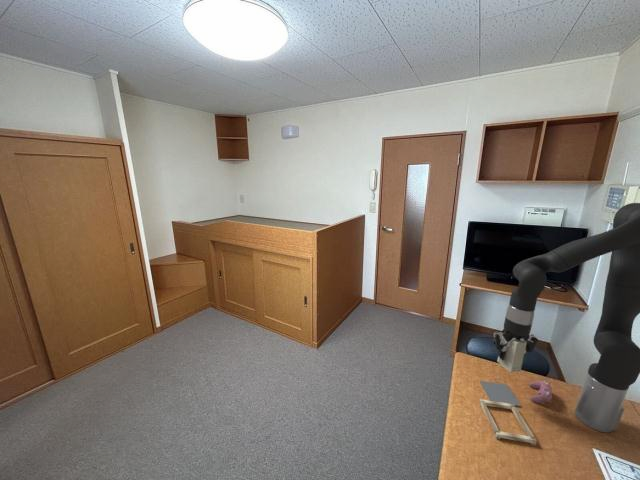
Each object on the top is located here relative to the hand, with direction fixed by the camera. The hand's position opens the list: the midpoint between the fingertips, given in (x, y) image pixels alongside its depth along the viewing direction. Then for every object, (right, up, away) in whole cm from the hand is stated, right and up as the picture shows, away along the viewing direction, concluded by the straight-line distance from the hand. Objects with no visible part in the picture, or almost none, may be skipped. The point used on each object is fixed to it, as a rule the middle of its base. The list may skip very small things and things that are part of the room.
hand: (509, 359), depth 94 cm
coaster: (0, -16, +6) cm, 17 cm away
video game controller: (+15, -17, +5) cm, 23 cm away
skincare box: (0, -3, +1) cm, 3 cm away
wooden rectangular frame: (-6, -19, -6) cm, 21 cm away
